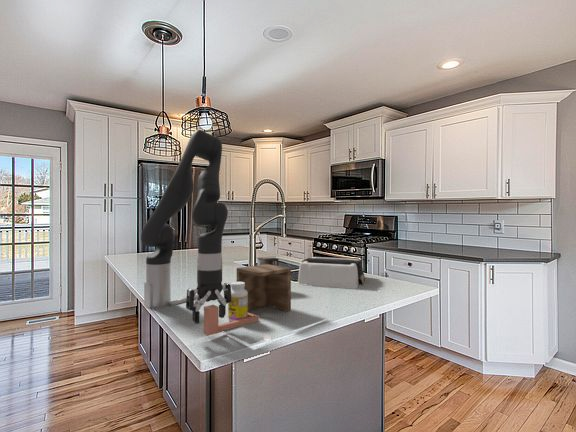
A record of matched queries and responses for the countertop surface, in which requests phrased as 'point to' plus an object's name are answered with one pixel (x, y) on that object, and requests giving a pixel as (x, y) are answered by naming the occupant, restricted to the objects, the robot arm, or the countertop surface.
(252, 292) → the shelf
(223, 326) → the crook
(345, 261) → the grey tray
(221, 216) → the robot arm
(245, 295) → the supplement bottle
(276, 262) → the coffee box
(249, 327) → the countertop surface
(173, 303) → the grey dowel
